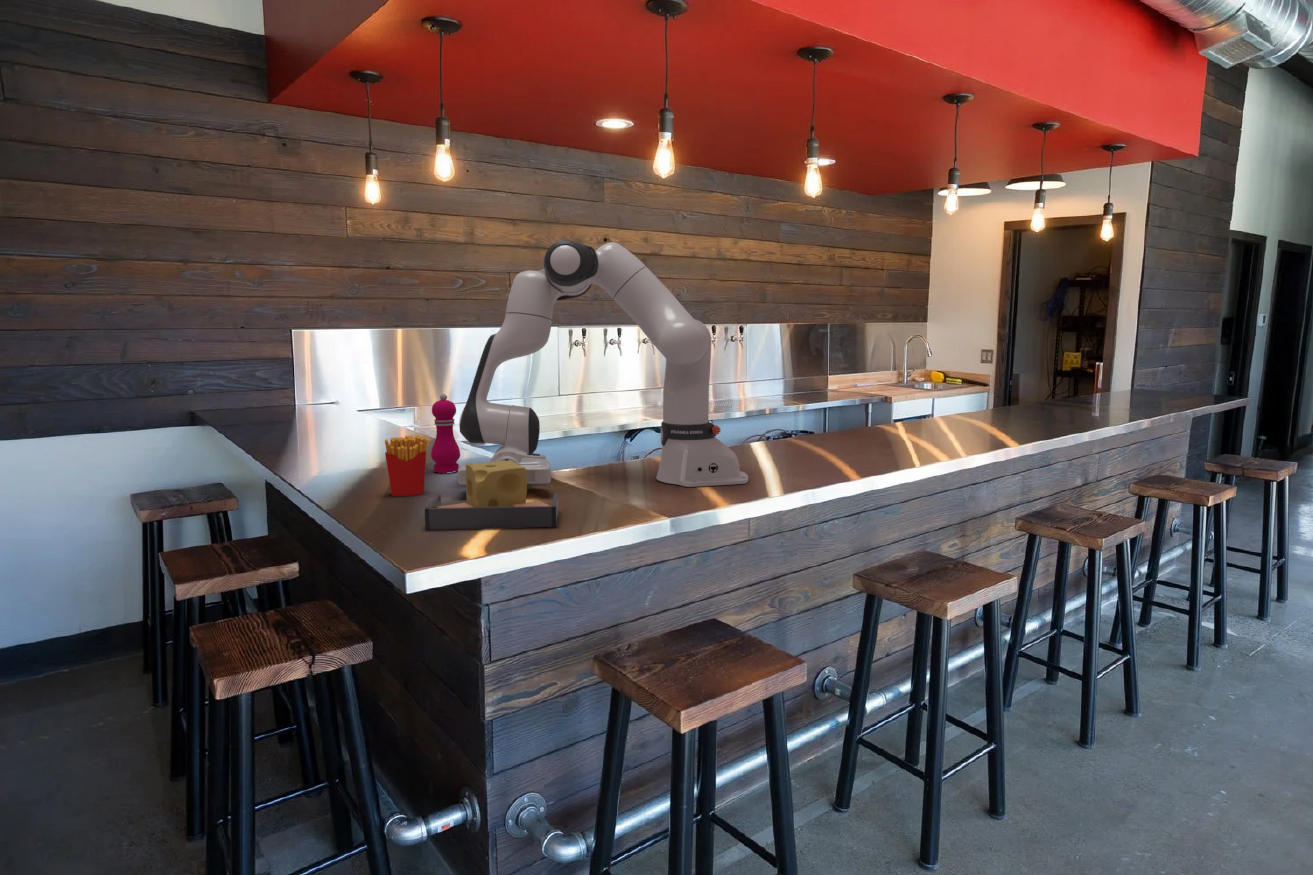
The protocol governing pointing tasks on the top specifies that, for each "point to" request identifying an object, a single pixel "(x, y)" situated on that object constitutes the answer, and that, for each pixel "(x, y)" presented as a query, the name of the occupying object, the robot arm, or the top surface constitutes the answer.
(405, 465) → the french fries
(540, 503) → the tile
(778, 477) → the top surface
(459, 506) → the tile
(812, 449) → the top surface
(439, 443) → the pepper mill
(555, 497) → the box
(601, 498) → the top surface
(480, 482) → the cheese
